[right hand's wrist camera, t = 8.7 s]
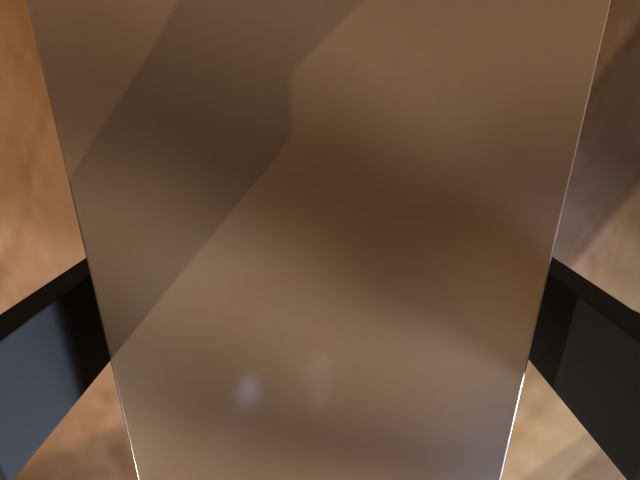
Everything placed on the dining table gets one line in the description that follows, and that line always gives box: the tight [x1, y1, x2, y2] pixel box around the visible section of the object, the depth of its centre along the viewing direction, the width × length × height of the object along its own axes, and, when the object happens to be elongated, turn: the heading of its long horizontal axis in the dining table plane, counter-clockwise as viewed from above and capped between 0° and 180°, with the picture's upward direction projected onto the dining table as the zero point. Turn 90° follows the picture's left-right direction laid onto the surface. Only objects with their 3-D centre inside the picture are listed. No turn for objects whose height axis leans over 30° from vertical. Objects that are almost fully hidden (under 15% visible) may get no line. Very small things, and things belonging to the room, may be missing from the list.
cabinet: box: [27, 0, 611, 480], centre depth 12 cm, size 19×10×10 cm, turn 0°
